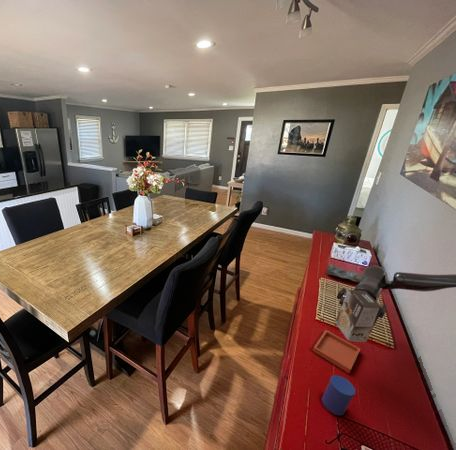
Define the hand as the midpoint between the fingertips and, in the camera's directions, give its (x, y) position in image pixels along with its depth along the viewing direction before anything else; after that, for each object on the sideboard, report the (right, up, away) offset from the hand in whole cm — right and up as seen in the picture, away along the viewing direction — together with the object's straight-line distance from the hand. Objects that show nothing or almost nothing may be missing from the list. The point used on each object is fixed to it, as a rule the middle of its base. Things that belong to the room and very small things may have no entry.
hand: (355, 310), depth 88 cm
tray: (+1, -21, +11) cm, 24 cm away
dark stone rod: (+45, -3, +59) cm, 74 cm away
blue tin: (-14, -29, -8) cm, 33 cm away
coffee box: (-1, -9, +2) cm, 9 cm away
